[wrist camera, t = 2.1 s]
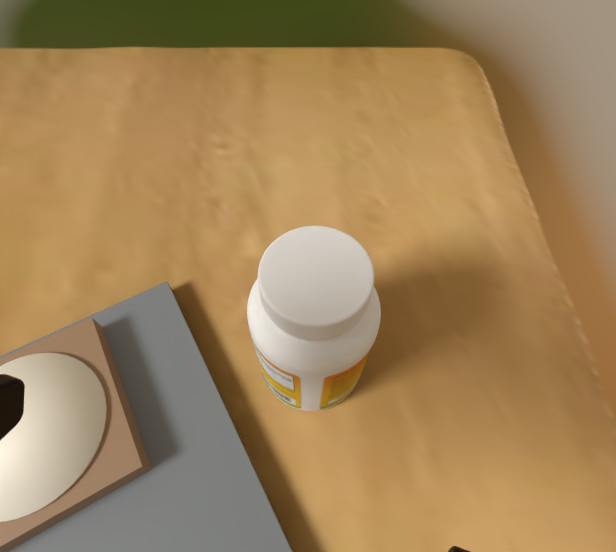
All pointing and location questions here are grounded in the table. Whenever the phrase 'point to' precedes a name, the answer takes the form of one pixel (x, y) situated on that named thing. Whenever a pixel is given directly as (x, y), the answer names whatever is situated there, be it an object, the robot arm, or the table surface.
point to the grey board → (127, 443)
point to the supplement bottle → (313, 316)
